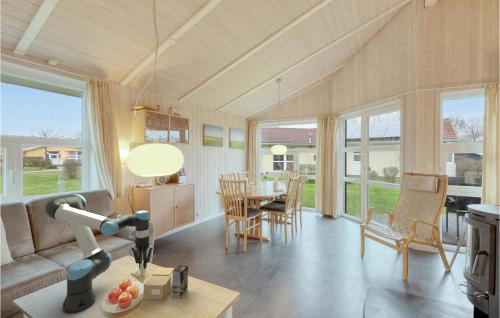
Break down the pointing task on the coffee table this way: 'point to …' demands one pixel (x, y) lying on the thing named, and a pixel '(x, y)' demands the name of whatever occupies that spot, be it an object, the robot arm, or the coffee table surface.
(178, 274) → the coffee box
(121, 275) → the coffee table surface
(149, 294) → the carton
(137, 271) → the panel
